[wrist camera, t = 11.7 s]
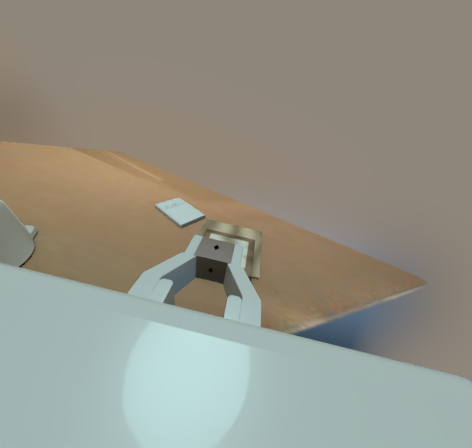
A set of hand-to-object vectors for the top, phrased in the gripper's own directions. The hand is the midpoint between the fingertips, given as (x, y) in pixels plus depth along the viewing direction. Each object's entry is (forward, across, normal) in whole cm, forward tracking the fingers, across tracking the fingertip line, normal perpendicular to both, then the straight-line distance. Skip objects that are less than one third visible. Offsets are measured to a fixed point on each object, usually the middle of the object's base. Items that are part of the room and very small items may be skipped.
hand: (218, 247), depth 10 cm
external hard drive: (+32, -17, -22) cm, 43 cm away
